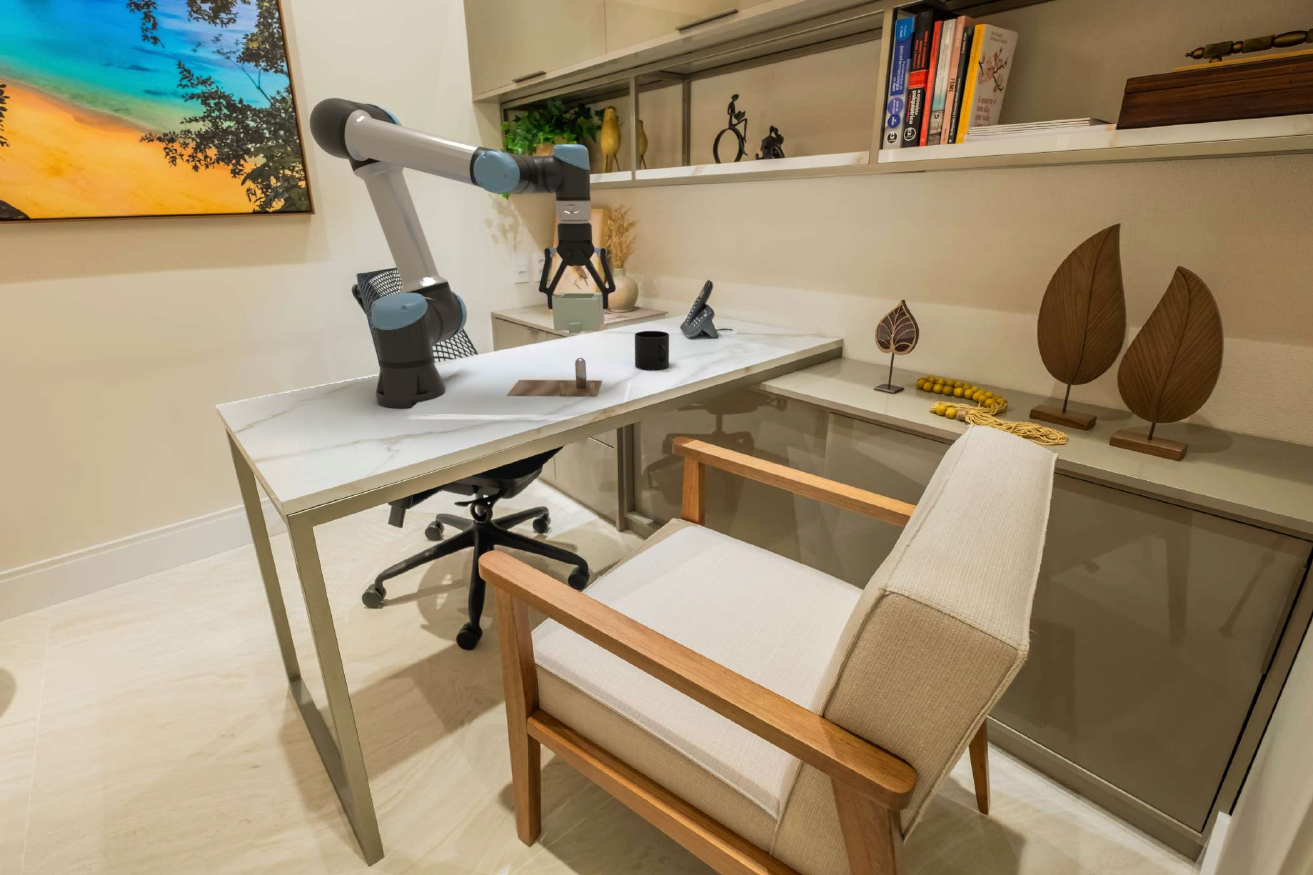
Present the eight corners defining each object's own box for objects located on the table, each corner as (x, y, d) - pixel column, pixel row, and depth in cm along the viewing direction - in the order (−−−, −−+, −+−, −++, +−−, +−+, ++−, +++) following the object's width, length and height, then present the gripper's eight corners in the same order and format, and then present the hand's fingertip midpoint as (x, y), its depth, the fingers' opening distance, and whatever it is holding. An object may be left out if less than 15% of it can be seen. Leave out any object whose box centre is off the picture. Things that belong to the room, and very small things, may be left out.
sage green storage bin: (561, 322, 151) (559, 292, 148) (602, 322, 151) (601, 292, 148) (551, 333, 139) (549, 301, 136) (596, 333, 138) (595, 301, 136)
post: (575, 388, 150) (574, 359, 148) (577, 385, 153) (575, 356, 150) (585, 388, 150) (584, 359, 148) (587, 385, 153) (586, 356, 150)
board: (506, 400, 145) (505, 383, 144) (519, 384, 158) (518, 368, 156) (596, 401, 145) (596, 384, 143) (602, 385, 157) (602, 368, 156)
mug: (650, 374, 167) (650, 341, 164) (628, 364, 176) (628, 332, 173) (680, 369, 171) (681, 337, 168) (657, 360, 181) (657, 329, 178)
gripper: (519, 223, 134) (527, 326, 142) (624, 222, 134) (626, 326, 142) (526, 221, 141) (534, 320, 149) (626, 221, 141) (628, 320, 149)
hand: (579, 323), depth 146 cm, fingers closed on sage green storage bin, 10 cm apart
